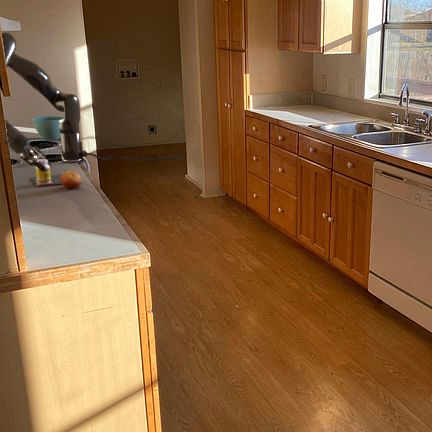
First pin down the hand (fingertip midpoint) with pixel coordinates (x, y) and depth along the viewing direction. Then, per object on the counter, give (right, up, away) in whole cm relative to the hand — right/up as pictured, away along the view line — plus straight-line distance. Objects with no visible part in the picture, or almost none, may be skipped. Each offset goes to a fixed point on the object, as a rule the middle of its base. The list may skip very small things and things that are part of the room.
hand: (47, 168), depth 239 cm
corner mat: (0, -5, +8) cm, 9 cm away
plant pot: (-39, +26, +99) cm, 109 cm away
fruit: (+11, -9, -3) cm, 15 cm away
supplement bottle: (-2, -6, +2) cm, 7 cm away
